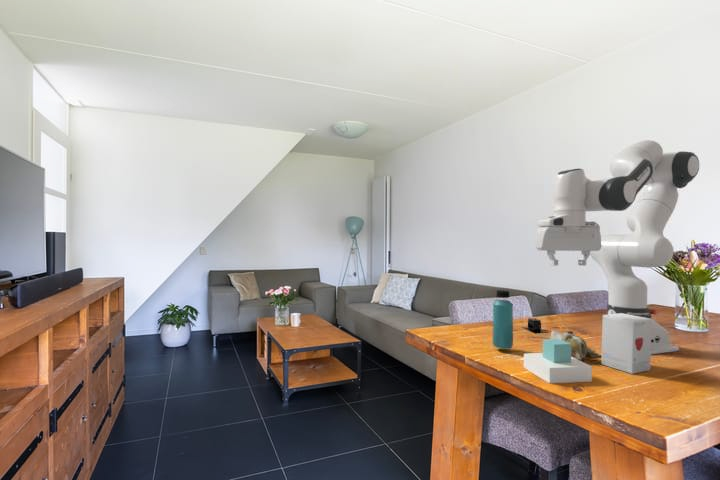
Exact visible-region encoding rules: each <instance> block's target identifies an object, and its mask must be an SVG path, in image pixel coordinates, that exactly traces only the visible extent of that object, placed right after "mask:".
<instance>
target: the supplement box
mask: <svg viewBox="0 0 720 480" xmlns="http://www.w3.org/2000/svg"><path fill="white" fill-rule="evenodd" d="M652 319H653V318H652ZM652 319H650V318H645V317H639V316H634V315H629V314H623V313H618V314H609V315H607V314H602V325H601V326H602V327H601V328H602V329H601V330H602V331H601V355H602V358H600V359H601V362H600V363H601V365H603V366H606V367H608V368H609V367H610V368H613V369H615V370H618V371H622V372H625V373H628V374H630V375H634V374H637V373H643V372H646V371H650V370H651V363H652V361H651V360H652V359H651V357H652V354H651V324H652Z"/></svg>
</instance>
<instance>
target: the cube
mask: <svg viewBox="0 0 720 480" xmlns="http://www.w3.org/2000/svg"><path fill="white" fill-rule="evenodd" d="M542 353H543V358H545V359H547V360H549V361H551V362H553V363H569V362H571V344H570V343H568V342H565V341H563V340H560V339H551V338H547V339H542Z"/></svg>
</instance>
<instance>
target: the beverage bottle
mask: <svg viewBox="0 0 720 480" xmlns="http://www.w3.org/2000/svg"><path fill="white" fill-rule="evenodd" d="M495 296H496V298H502V299H496V300H495V301H494V302H492V306H493V307H492V310H493V311H492V345H493V347H495V348H498V349H506V350H507V349H512V348H513V346H514V316H513V315H514V313H513V312H514V311H513V310H514V309H513V308H514V307H513V306H514V304H513V303H512V302H511V301H510V300H505V299H508V298H510V291H509V290H502V289H500V290H496V295H495ZM503 298H504V299H503Z"/></svg>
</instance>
